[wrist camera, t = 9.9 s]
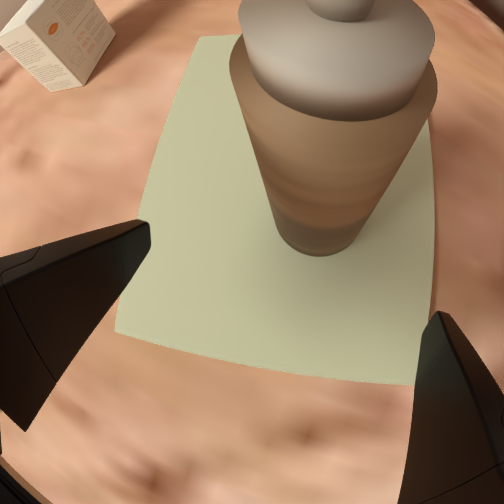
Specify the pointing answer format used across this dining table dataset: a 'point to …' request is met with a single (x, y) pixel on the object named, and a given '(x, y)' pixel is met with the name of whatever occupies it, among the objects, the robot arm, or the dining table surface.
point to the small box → (58, 40)
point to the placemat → (272, 253)
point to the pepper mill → (331, 107)
